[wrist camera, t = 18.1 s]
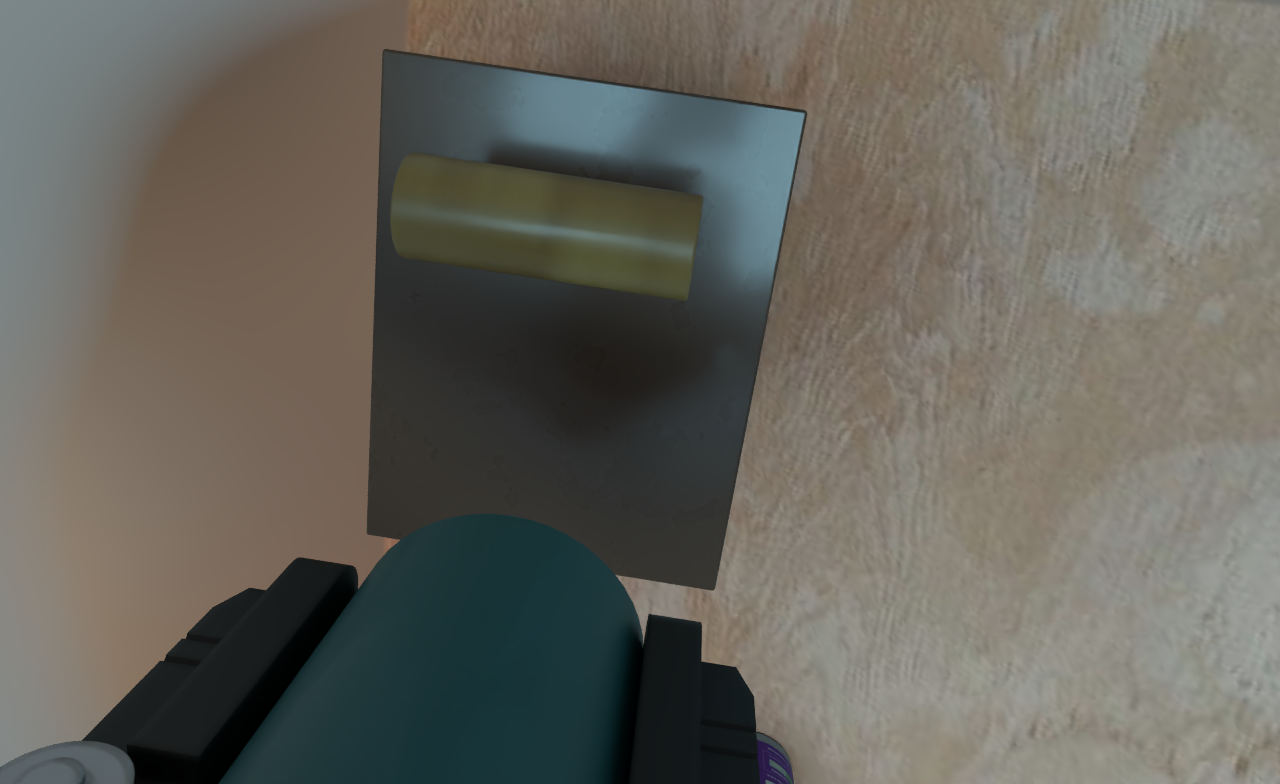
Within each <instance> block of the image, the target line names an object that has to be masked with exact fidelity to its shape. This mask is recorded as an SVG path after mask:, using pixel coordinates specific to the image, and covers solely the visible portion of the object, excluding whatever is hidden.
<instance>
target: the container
mask: <svg viewBox="0 0 1280 784" xmlns="http://www.w3.org/2000/svg"><path fill="white" fill-rule="evenodd" d="M756 734H757V746H758V760H759V772H760V784H794V781H793V774H792V768H791V763H790V759H789V757H788V755H787V753H786V752H785V750H784V749H783V748H782V747H781V746H780V745H779V744H778V743H777V742H775V741H774V740H773V739H771V738H769V737H767V736H765V735H763V734H760V733H756Z"/></svg>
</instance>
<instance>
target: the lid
mask: <svg viewBox="0 0 1280 784" xmlns="http://www.w3.org/2000/svg"><path fill="white" fill-rule="evenodd" d="M382 60H383V61H382V88H381V118H380V148H379V150H380V151H379V179H378V209H377V239H376V269H375V299H374V329H373V330H374V331H373V359H372V389H371V391H372V393H371V420H370V421H371V423H370V449H369V480H368V511H367V534H368V535H374V536H381V537H387V538H393V539H399V540H401V539H402V538H404V537H406V536H407V535H409V534H411V533H412V532H414V531H416V530H417V529H420V528H422V527H424V526H427V525H429V524H431V523H434V522H437V521H441V520H444V519H448V518H451V517H456V516H463V515H470V514H501V515H511V516H516V517H520V518H525V519H530V520H533V521H536V522H539V523H542V524H545V525H548V526H550V527H552V528H555V529H557V530H559V531H561V532H563V533H565V534H567V535H569V536H570V537H572V538H574V539H575V540H577V541H578V542H580V543H582V544H583V545H585V546H586V547H587V548H588V549H590V550H591V551H592V552H593V553H594V554H596V555H597V556H598V557H599V558H600V559H601V560H602V561H603V562H604V563H605V564H606V565H607V566H608V567H609V568H610V569H611V570H612V571H613V573H614V574H615V575H620V576H626V577H633V578H639V579H645V580H651V581H657V582H663V583H669V584H676V585H682V586H688V587H694V588H700V589H706V590H714V589H715V586H716V581H717V576H718V571H719V566H720V560H721V555H722V550H723V545H724V540H725V535H726V529H727V524H728V519H729V514H730V509H731V504H732V499H733V493H734V488H735V483H736V478H737V473H738V468H739V463H740V457H741V452H742V447H743V442H744V437H745V432H746V426H747V421H748V416H749V411H750V406H751V401H752V396H753V390H754V385H755V380H756V375H757V370H758V365H759V360H760V354H761V349H762V344H763V339H764V334H765V329H766V323H767V318H768V313H769V308H770V303H771V298H772V293H773V287H774V282H775V277H776V272H777V267H778V262H779V257H780V251H781V246H782V241H783V236H784V231H785V226H786V220H787V215H788V210H789V205H790V200H791V195H792V190H793V184H794V179H795V174H796V169H797V164H798V159H799V154H800V148H801V143H802V138H803V133H804V128H805V123H806V117H807V111H805V110H800V109H793V108H786V107H779V106H772V105H765V104H759V103H752V102H745V101H738V100H731V99H724V98H718V97H711V96H704V95H697V94H690V93H683V92H676V91H670V90H663V89H656V88H649V87H642V86H635V85H628V84H622V83H615V82H608V81H601V80H594V79H587V78H581V77H574V76H567V75H560V74H553V73H546V72H539V71H533V70H526V69H519V68H512V67H505V66H498V65H492V64H485V63H478V62H471V61H464V60H457V59H450V58H444V57H437V56H430V55H423V54H416V53H409V52H402V51H396V50H389V49H384V50H383V59H382Z"/></svg>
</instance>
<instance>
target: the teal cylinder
mask: <svg viewBox="0 0 1280 784" xmlns="http://www.w3.org/2000/svg"><path fill="white" fill-rule="evenodd" d="M642 651H643V635H642V630H641V626H640V622H639V618H638V615H637V613H636V610H635V607H634V605H633V602H632V600H631V599H630V597H629V595H628V593H627V591H626V590H625V588H624V586H623V585H622V583H621V582H620V581H619V579H618V578H617V577H616V575H615V574H614V573H613V571H612V570H611V569H610V568H609V567H608V566H607V565H606V564H605V563H604V562H603V561H602V560H601V559H600V558H599V557H598V556H597V555H596V554H594V553H593V552H592V551H591V550H590V549H588V548H587V547H586V546H585V545H583V544H582V543H580V542H578V541H577V540H575V539H574V538H572V537H570V536H569V535H567V534H565V533H563V532H561V531H559V530H557V529H555V528H552V527H550V526H548V525H545V524H542V523H539V522H536V521H533V520H530V519H525V518H520V517H516V516H511V515H501V514H470V515H463V516H456V517H451V518H448V519H444V520H441V521H437V522H434V523H431V524H429V525H427V526H424V527H422V528H420V529H417V530H416V531H414V532H412V533H411V534H409V535H407V536H406V537H404V538H402V539H401V540H400V541H399V542H398V543H396V544H395V545H394V546H393V547H392V548H390V549H389V550H388V551H387V552H386V554H385V555H384V556H383V557H382V558H381V559H380V560H379V562H378V563H377V564H376V565H375V567H374V568H373V570H372V571H371V572H370V574H369V575H368V577H367V578H366V580H365V581H364V582H363V583H362V585H361V586H360V588H359V589H358V590H357V592H356V593H355V595H354V596H353V597H352V599H351V600H350V602H349V603H348V604H347V606H346V607H345V608H344V610H343V611H342V613H341V614H340V615H339V617H338V618H337V620H336V621H335V622H334V624H333V625H332V626H331V628H330V629H329V631H328V632H327V633H326V635H325V636H324V638H323V639H322V640H321V642H320V643H319V644H318V646H317V647H316V649H315V650H314V651H313V653H312V654H311V656H310V657H309V658H308V660H307V661H306V663H305V664H304V665H303V667H302V668H301V669H300V671H299V672H298V674H297V675H296V676H295V678H294V679H293V681H292V682H291V683H290V685H289V686H288V687H287V689H286V690H285V692H284V693H283V694H282V696H281V697H280V699H279V700H278V701H277V703H276V704H275V705H274V707H273V708H272V710H271V711H270V712H269V714H268V715H267V717H266V718H265V719H264V721H263V722H262V724H261V725H260V726H259V728H258V729H257V730H256V732H255V733H254V735H253V736H252V737H251V739H250V740H249V742H248V743H247V744H246V746H245V747H244V748H243V750H242V751H241V753H240V754H239V755H238V757H237V758H236V760H235V761H234V762H233V764H232V765H231V766H230V768H229V769H228V771H227V772H226V773H225V775H224V776H223V778H222V779H221V780H220V782H219V783H218V784H626V783H627V775H628V767H629V758H630V750H631V742H632V734H633V725H634V717H635V709H636V701H637V692H638V684H639V676H640V668H641V659H642Z"/></svg>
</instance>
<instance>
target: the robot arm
mask: <svg viewBox="0 0 1280 784" xmlns="http://www.w3.org/2000/svg"><path fill="white" fill-rule="evenodd" d="M357 590H358V575H357V571H356V569H355V567H354V566H351V565H345V564H339V563H332V562H326V561H320V560H314V559H307V558H297V559H295V560H294V561H293V562H292V563H291V564H290V565H289V566H288V567H287V568H286V569H285V570H284V572H283V573H282V574H281V575H280V576H279V577H278V578H277V579H276V580H275V581H274V582H273V584H272V585H271V586H270V587H269V588H268V589H267V590H260V589H254V588H248V589H247V590H245V591H243V592H241V593H239V594H237V595H235V596H233V597H232V598H230V599H228V600H226V601H224V602H222V603H220V604H218V605H216V606H215V607H213V608H212V609H211V610H210V611H209V612H208V613H207V614H206V615H205V616H204V617H203V618H202V619H201V620H200V621H199V622H198V623H197V624H196V625H195V626H194V627H193V628H192V629H191V630H190V631H189V632H188V633H187V637H186V639H181V640H180V641H179V642H178V643H177V645H175V646H174V648H172V649H171V650H170V651H169V652H168V653H167V655H166V658H165V660H164V661H160V662H159V663H158V664H157V665H156V666H155V667H154V668H153V669H152V670H151V671H150V672H149V673H148V674H147V675H146V676H145V677H144V678H143V679H142V680H141V681H140V682H139V683H138V684H137V685H136V686H135V687H134V688H133V689H132V690H131V691H130V692H129V693H128V694H127V695H126V696H125V697H124V698H123V699H122V700H121V701H120V702H119V703H118V704H117V705H116V706H115V707H114V708H113V709H112V710H111V711H110V713H108V714H107V715H106V717H105V718H104V719H103V720H102V721H101V722H100V723H99V724H98V725H97V726H96V727H95V728H94V729H93V730H92V731H91V732H90V733H89V734H88V735H87V736H86V737H85V738H84V739H83V740H82V741H73V742H65V743H59V744H54V745H51V746H47V747H43V748H40V749H37V750H34V751H32V752H29V753H26V754H24V755H22V756H20V757H18V758H16V759H14V760H12V761H10V762H8V763H6V764H5V765H3V766H1V767H0V784H218V783H219V782H220V780H221V779H222V778H223V776H224V775H225V773H226V772H227V771H228V769H229V768H230V766H231V765H232V764H233V762H234V761H235V760H236V758H237V757H238V755H239V754H240V753H241V751H242V750H243V748H244V747H245V746H246V744H247V743H248V742H249V740H250V739H251V737H252V736H253V735H254V733H255V732H256V730H257V729H258V728H259V726H260V725H261V724H262V722H263V721H264V719H265V718H266V717H267V715H268V714H269V712H270V711H271V710H272V708H273V707H274V705H275V704H276V703H277V701H278V700H279V699H280V697H281V696H282V694H283V693H284V692H285V690H286V689H287V687H288V686H289V685H290V683H291V682H292V681H293V679H294V678H295V676H296V675H297V674H298V672H299V671H300V669H301V668H302V667H303V665H304V664H305V663H306V661H307V660H308V658H309V657H310V656H311V654H312V653H313V651H314V650H315V649H316V647H317V646H318V644H319V643H320V642H321V640H322V639H323V638H324V636H325V635H326V633H327V632H328V631H329V629H330V628H331V626H332V625H333V624H334V622H335V621H336V620H337V618H338V617H339V615H340V614H341V613H342V611H343V610H344V608H345V607H346V606H347V604H348V603H349V602H350V600H351V599H352V597H353V596H354V595H355V593H356V592H357ZM701 647H702V624H701V622H696V621H689V620H683V619H677V618H671V617H665V616H658V615H652V614H649V615H648V620H647V626H646V632H645V638H644V644H643V651H642V659H641V668H640V676H639V684H638V692H637V701H636V709H635V717H634V725H633V734H632V742H631V750H630V758H629V767H628V775H627V783H626V784H760V772H759V760H758V746H757V734H756V719H755V706H754V696H753V694H752V693H751V691H750V689H749V688H748V686H747V684H746V683H745V681H744V680H743V678H742V676H741V675H740V673H739V671H738V670H737V668H736V667H731V666H725V665H719V664H713V663H707V662H701Z"/></svg>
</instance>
